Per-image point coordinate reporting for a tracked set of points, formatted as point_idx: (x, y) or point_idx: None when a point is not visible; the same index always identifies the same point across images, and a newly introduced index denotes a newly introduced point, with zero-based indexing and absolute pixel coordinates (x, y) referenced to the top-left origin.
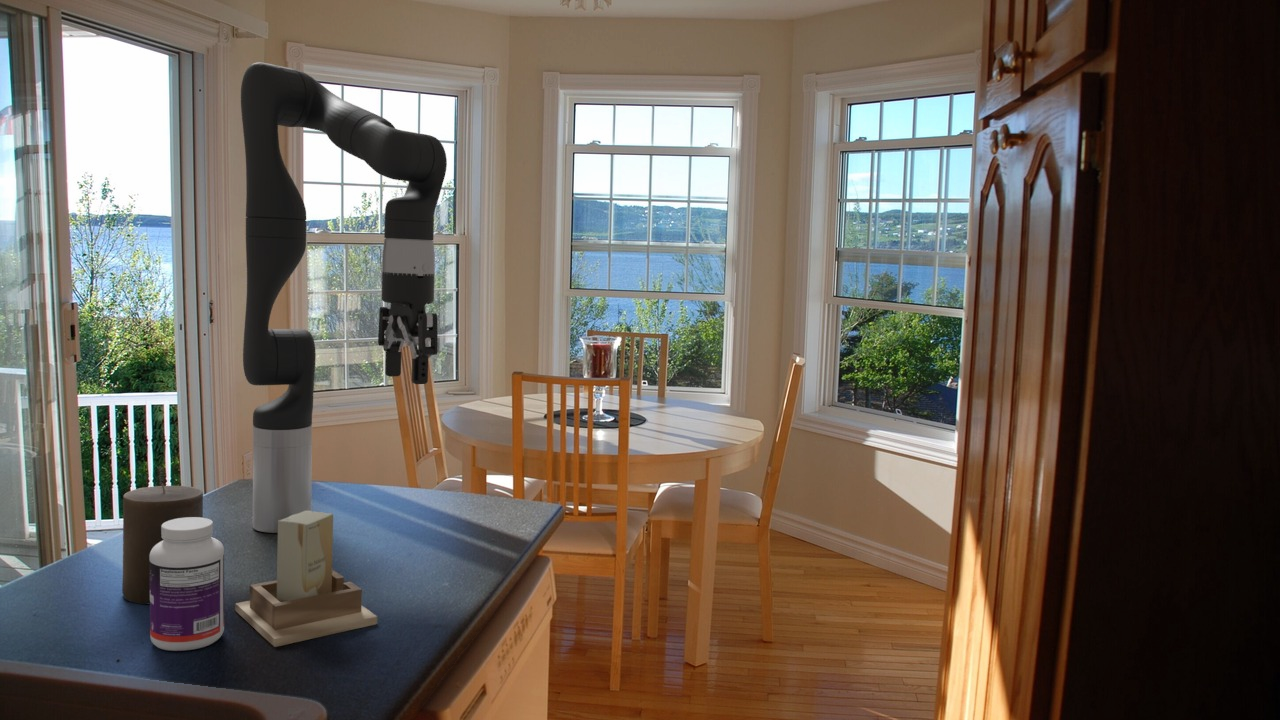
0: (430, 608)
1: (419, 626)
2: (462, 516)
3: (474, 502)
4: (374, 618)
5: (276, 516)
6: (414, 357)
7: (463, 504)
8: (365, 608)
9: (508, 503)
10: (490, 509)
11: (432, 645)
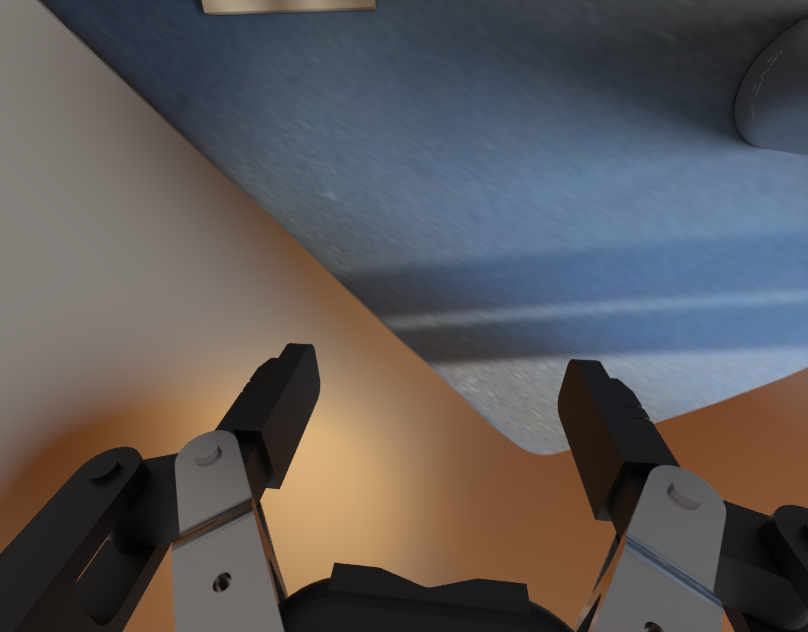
0: (248, 125)
1: (187, 74)
2: None
3: None
4: (203, 6)
5: (793, 45)
6: (216, 434)
7: None
8: (242, 9)
9: None
10: None
11: (117, 55)
